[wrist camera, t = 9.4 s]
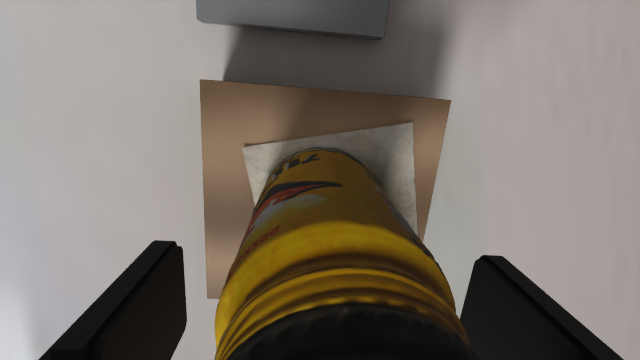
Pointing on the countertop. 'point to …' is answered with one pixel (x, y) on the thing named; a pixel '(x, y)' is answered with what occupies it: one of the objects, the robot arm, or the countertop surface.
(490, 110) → the countertop surface
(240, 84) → the block
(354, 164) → the condiment
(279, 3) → the coaster
